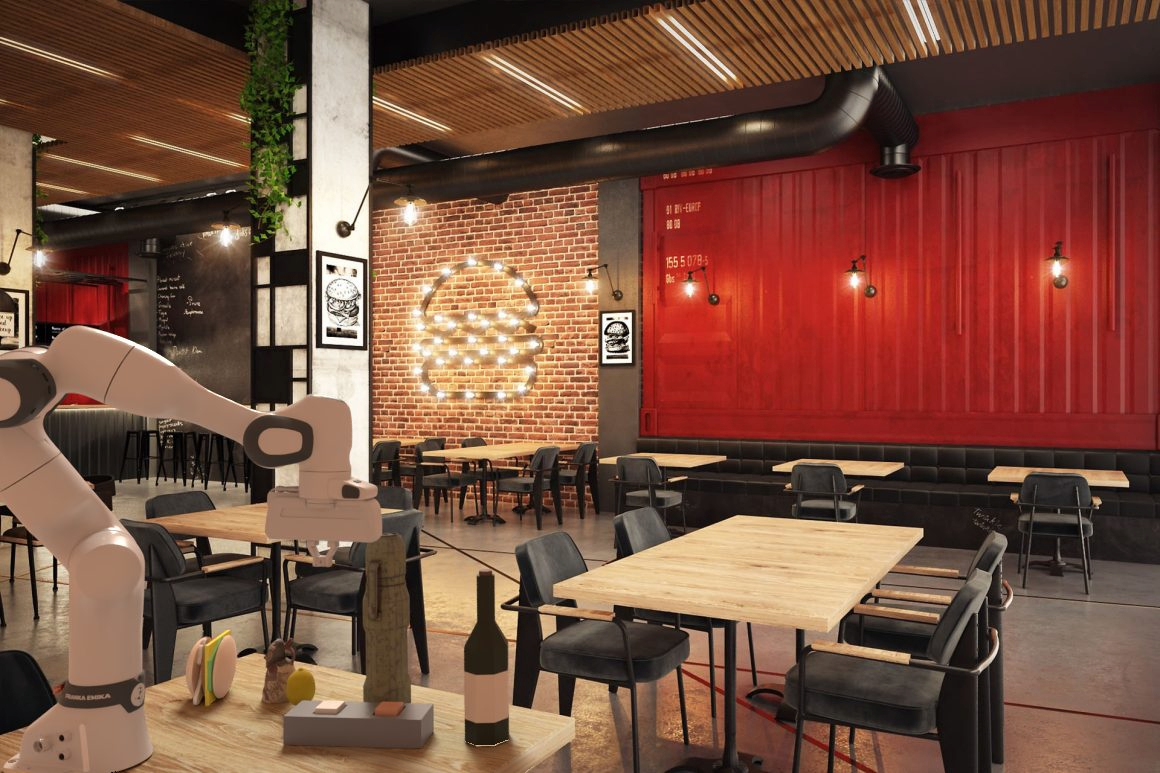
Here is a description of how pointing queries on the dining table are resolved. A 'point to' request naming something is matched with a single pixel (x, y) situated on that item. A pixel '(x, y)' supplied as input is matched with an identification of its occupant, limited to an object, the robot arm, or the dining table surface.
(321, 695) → the dining table surface
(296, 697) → the lemon
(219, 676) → the hamburger
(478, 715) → the wine bottle
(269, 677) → the figurine
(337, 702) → the pale key
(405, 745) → the key panel
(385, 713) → the clay key
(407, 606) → the thermos
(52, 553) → the robot arm
